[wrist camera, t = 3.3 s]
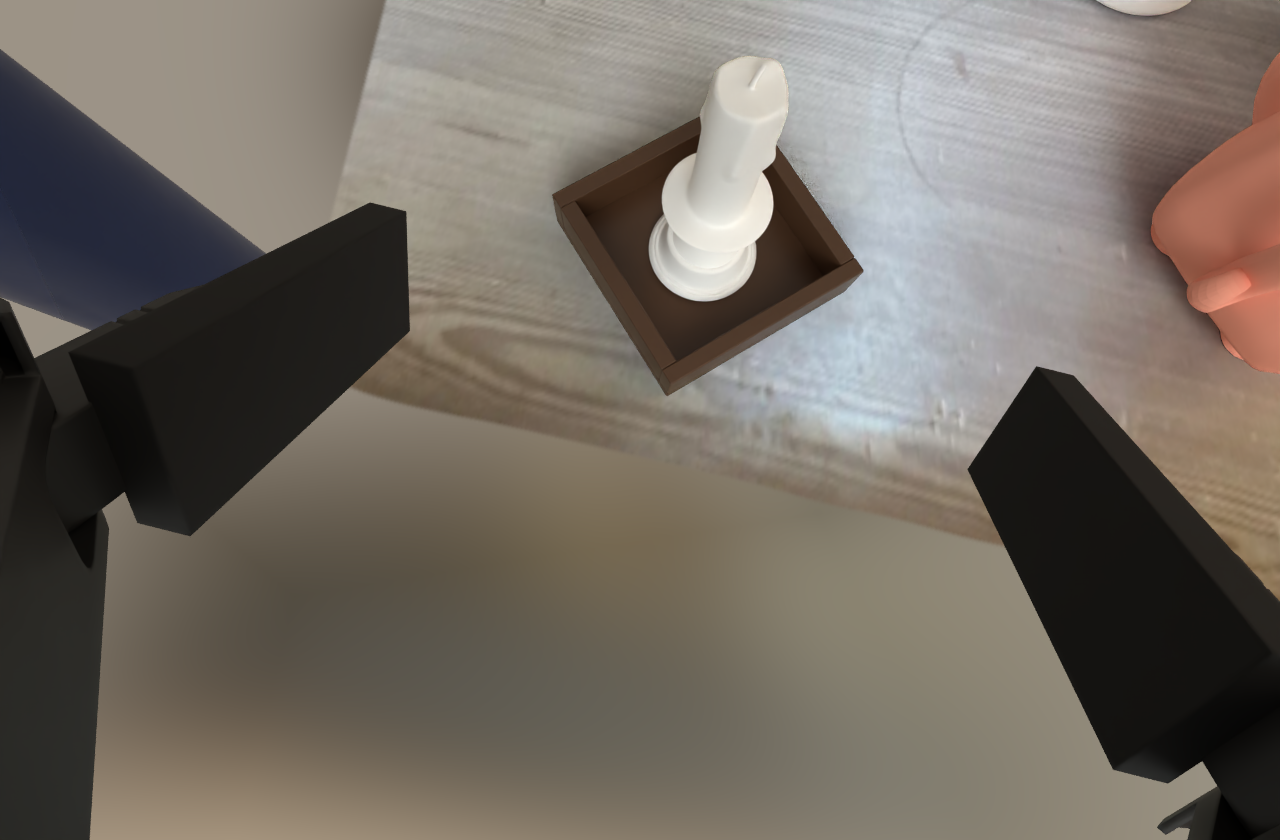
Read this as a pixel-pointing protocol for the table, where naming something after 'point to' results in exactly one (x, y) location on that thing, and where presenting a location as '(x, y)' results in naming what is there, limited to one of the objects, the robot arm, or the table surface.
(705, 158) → the candle
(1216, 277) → the teapot
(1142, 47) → the table surface
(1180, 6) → the jar
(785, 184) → the tray
